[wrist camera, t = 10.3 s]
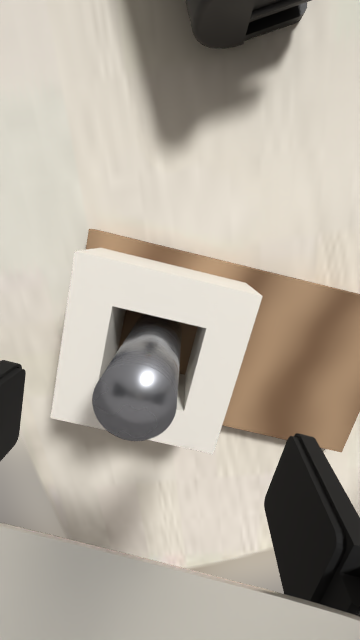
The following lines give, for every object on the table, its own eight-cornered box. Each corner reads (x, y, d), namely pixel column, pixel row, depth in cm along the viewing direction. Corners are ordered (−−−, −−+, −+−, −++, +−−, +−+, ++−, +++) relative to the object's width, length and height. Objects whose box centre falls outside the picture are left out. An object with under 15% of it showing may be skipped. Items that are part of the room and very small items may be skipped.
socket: (245, 282, 21) (262, 296, 16) (208, 410, 24) (213, 454, 19) (101, 247, 21) (74, 250, 16) (79, 380, 23) (50, 417, 18)
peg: (186, 316, 22) (185, 374, 12) (175, 360, 23) (166, 448, 13) (139, 305, 22) (99, 355, 12) (130, 350, 22) (86, 430, 13)
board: (391, 301, 23) (405, 306, 21) (332, 440, 26) (341, 452, 24) (95, 229, 22) (88, 228, 20) (71, 380, 25) (64, 389, 24)
